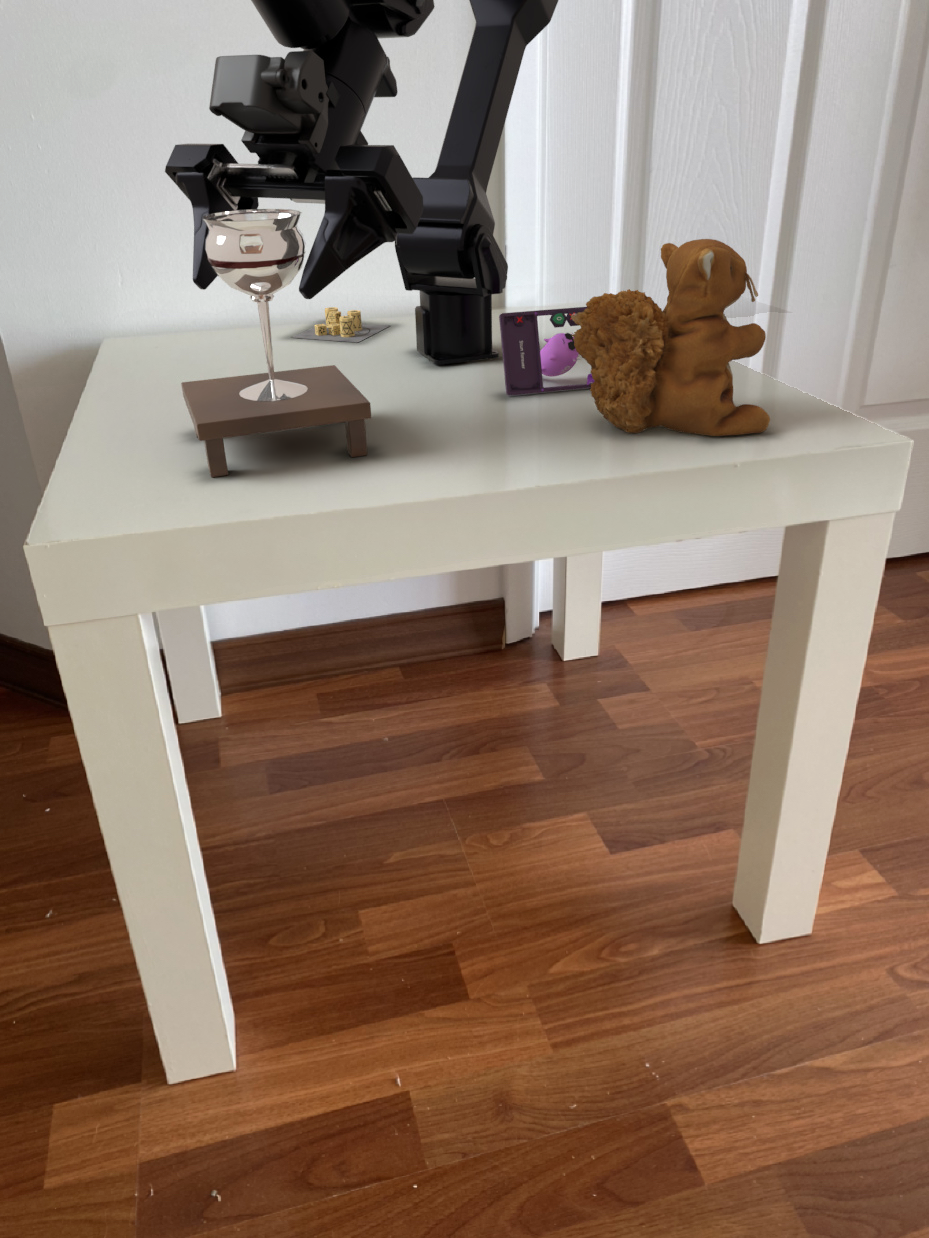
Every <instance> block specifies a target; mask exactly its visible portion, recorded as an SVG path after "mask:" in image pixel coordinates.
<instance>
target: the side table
mask: <svg viewBox="0 0 929 1238" xmlns="http://www.w3.org/2000/svg"><path fill="white" fill-rule="evenodd" d="M274 377H275V379H278V380H283V381H290V382H295V383H300V384H303V385H305V386H306V387H307V388H308V389H307V392H305V393H304V394H302V395H300V396H297V397H294V398H289V399H285V400H276V401H254V400H249V399H245V398H243V397H241V396H240V394H239V393H240V391H241V390H243V389H244V388H246V387H249V386H251V385H254V384H257V383H261V382H264V381H266V380H269V373H268V372H262V373H253V374H244V375H236V376H235V375H233V376H226V377H217V378H210V379H209V378H208V379H201V380H191V381H184V382H183V381H181V384H180V385H181V391H182V397H183V399H184V402H185V406H186V408H187V410H188V411H187V412H188V413H189V416H190V419H191V422H192V424H193V428H194V433H195V436H196V438H197V439H198V440H199V441H200V442H203V443H204V444H203V445H204V451H205V455H206V456H205V457H206V460H207V467H208V468H207V469H208V473H209V475H210V478H217V477H223V476H228V475H229V470H228V469H229V468H228V463H227V462H228V461H227V456H226V449H225V443H224V439H225V438H232V437H233V438H234V437H242V436H249V435H257V434H262V433H263V434H264V433H265V434H266V433H271V432H272V433H273V432H279V431H287V430H293V429H301V428H309V427H317V426H326V425H332V424H341V423H345V434H346V435H345V436H346V446H347V453H348V455H349V456H350V457H351V458H357V457H364V456H368V445H367V444H368V443H367V433H366V420H370V419H372V408H371V407H372V406H371V402H370V401H369V400H368V399H367V398H366V397H365V396H364V394H362V392H361V391H360V390H359V389H358V388H357V387H356V386H355V385H354V384H353V383H352V382H351V381H350V380H349V379H348V378H347V376H346V375H345V374H344V373H343V372H342V371H341V370H340V368H338V367H337V366H336V365H335V364H332V365H324V366H323V365H322V366H315V367H314V366H313V367H306V368H297V369H289V370H280V371H279V370H278V371H274Z"/></svg>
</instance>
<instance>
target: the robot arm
mask: <svg viewBox="0 0 929 1238" xmlns="http://www.w3.org/2000/svg"><path fill="white" fill-rule="evenodd" d="M250 1H251V3H252V4H253V6H254V8H255V9H256V11H257V12H258V14H259V15H260V17H261V19H262V20H263V22H264V23H265V25H266V26H267V28H268V30H269V31H270V33H271V34H272V36H273V38H274V39H275V41H276V42H277V43H278V45H281V46H282V47H284V48H289V49H299V48H300V49H302V50H297V51H295V50H293V51H292V50H291V51H289V52H287V54H286V56H285V58H284V57H282V56H268V55H264V54H239V55H237V54H235V55H220V56H217V57H215V61H214V62H215V63H214V69H213V70H214V71H213V78H212V83H211V84H212V85H211V91H210V99H209V100H210V101H209V105H208V106H209V107H208V109H209V111H210V112H211V113H212V114H213V115H215V116H216V117H223V118H224V119H226V120H228V121H229V122H231V123H233V124H234V125H235V126H237V127H239V128H240V129H241V130H243V131H244V132H243V135H242V138H241V140H240V141H241V142H242V144H243V145H244V146H245V148H246V149H247V151H248V152H249V153H250V154H256V155H257V157H258V160H257V163H240V162H238V160H237V159H235V157H234V156H233V154H232V153H231V151H229V149H228V148H227V147H226V145H225V144H224V143H179V144H175V145H174V147H173V149H172V152H171V154H170V156H169V158H168V160H167V162H166V165H165V168H164V173H165V174H166V175H167V176H168V177H169V178H170V180H171V181H172V182H173V183H174V184H175V185H176V186H177V188H178V189H179V190H180V191H181V192H182V193H183V194H184V195H185V197H186V198H187V199H188V200H189V202H190V204H191V207H192V215H193V216H192V218H193V252H192V253H193V255H192V281H193V284H194V285H195V286H196V287H197V288H198V289H200V290H203V291H205V290H207V289H208V287H210V285H211V284H212V283H213V282H214V281H215V280H216V279H217V277H219V276H218V275H217V274H215V272H214V270H213V269H212V267H211V265H210V263H209V262H208V259H207V257H206V256H207V254H206V251H205V240H206V237H207V235H208V232H209V229H208V227H207V225H206V223H205V221H204V220H203V219H202V216H204V215H207V214H211V213H217V212H224V211H234V210H247V209H259V204H260V203H259V198H260V199H261V198H262V199H286V200H287V199H288V200H290V201H292V202H294V203H297V204H319V205H320V204H322V205H324V214H323V217H322V219H321V222H320V225H319V227H318V230H317V233H316V236H315V238H314V241H313V244H312V246H311V249H310V252H309V255H308V257H307V260H306V262H305V263H304V264H305V265H304V266H303V270H302V274H301V279H300V282H299V285H298V292H299V294H301V296H302V297H303V298H304V299H305V300H312V299H313V298H314V297H316V296H317V295H318V294H319V293H320V292H322V291H323V290H324V289H325V288H327V287H328V286H329V285H330V284H331V283H333V282H334V281H335V280H336V279H338V278H339V277H340V276H341V275H342V274H343V273H345V272H346V271H347V270H348V269H350V268H351V267H352V266H353V265H355V264H356V263H358V262H359V261H361V260H362V259H363V258H365V257H366V256H367V255H369V254H371V253H372V252H373V251H375V250H377V249H378V248H379V247H381V246H382V245H384V244H385V243H394V250H395V255H396V258H397V262H398V266H399V270H400V274H401V278H402V282H403V286H404V290H405V291H409V292H412V291H418V292H419V305H417V306H416V307H415V308H414V318H415V338H416V351H417V352H418V353H420V354H421V355H422V356H424V357H425V358H426V359H427V360H429V361H430V362H431V363H432V364H434V365H439V366H441V365H448V364H449V365H450V364H457V363H466V362H473V361H474V362H475V361H483V360H492V359H498V358H499V357H500V354H499V353H500V352H498V351H497V350H496V349H494V348H493V295H500V294H503V293H504V292H503V290H504V289H506V285H507V280H508V272H509V271H508V270H509V265H508V262H507V260H506V258H505V256H504V254H503V251H502V250H501V248H500V246H499V245H498V242H497V239H495V237H494V232H495V226H496V222H495V221H496V220H495V218H494V215H493V212H492V208H491V205H490V202H489V198H488V195H487V191H488V185H489V182H490V179H491V175H492V171H493V168H494V165H495V160H496V157H497V153H498V150H499V146H500V142H501V138H502V135H503V131H504V127H505V124H506V120H507V118H508V117H507V116H508V113H509V109H510V106H511V102H512V98H513V95H514V91H515V87H516V84H517V80H518V77H519V73H520V70H521V69H520V68H521V66H522V62H523V58H524V55H525V51H526V48H527V46H528V45H529V44H531V42H532V41H533V40H534V39H535V38H536V37H537V36H538V35H539V34H540V33H541V32H542V31H543V30H544V29H545V28H546V27H547V26H548V25H549V24H550V22H551V21H552V18H553V16H554V13H555V11H556V8H557V5H558V3H559V0H468V1H469V4H470V7H471V11H472V14H473V17H474V20H475V25H474V30H473V33H472V37H471V41H470V43H469V48H468V51H467V55H466V57H465V58H466V59H465V62H464V66H463V70H462V73H461V77H460V80H459V83H458V87H457V91H456V94H455V98H454V101H453V102H454V103H453V105H452V109H451V113H450V116H449V120H448V124H447V128H446V130H445V135H444V138H443V142H442V145H441V149H440V153H439V157H438V160H437V163H436V166H435V169H434V171H433V173H432V174H430V176H428V177H415V176H412V174H411V172H410V170H409V169H408V167H407V166H406V164H405V162H404V160H403V158H402V156H401V155H400V153H399V152H398V150H397V149H396V147H395V145H394V144H369V142H368V140H367V138H366V136H365V135H364V133H363V132H362V129H363V126H364V123H365V121H366V118H367V116H368V114H369V111H370V109H371V106H372V103H373V101H374V99H375V98H396V97H397V95H398V91H399V90H398V85H397V83H398V82H397V78H396V76H395V74H394V73H393V70H392V67H391V60H390V57H389V56H387V54H386V52H385V49H384V48H383V46H382V44H381V42H380V40H379V39H397V38H399V39H400V38H410V37H412V36H415V35H416V34H417V33H418V31H420V29H421V28H422V26H423V25H424V23H425V22H426V21H427V19H428V18H429V16H430V15H431V14H432V12H433V11H434V9H435V1H434V0H250Z"/></svg>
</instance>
